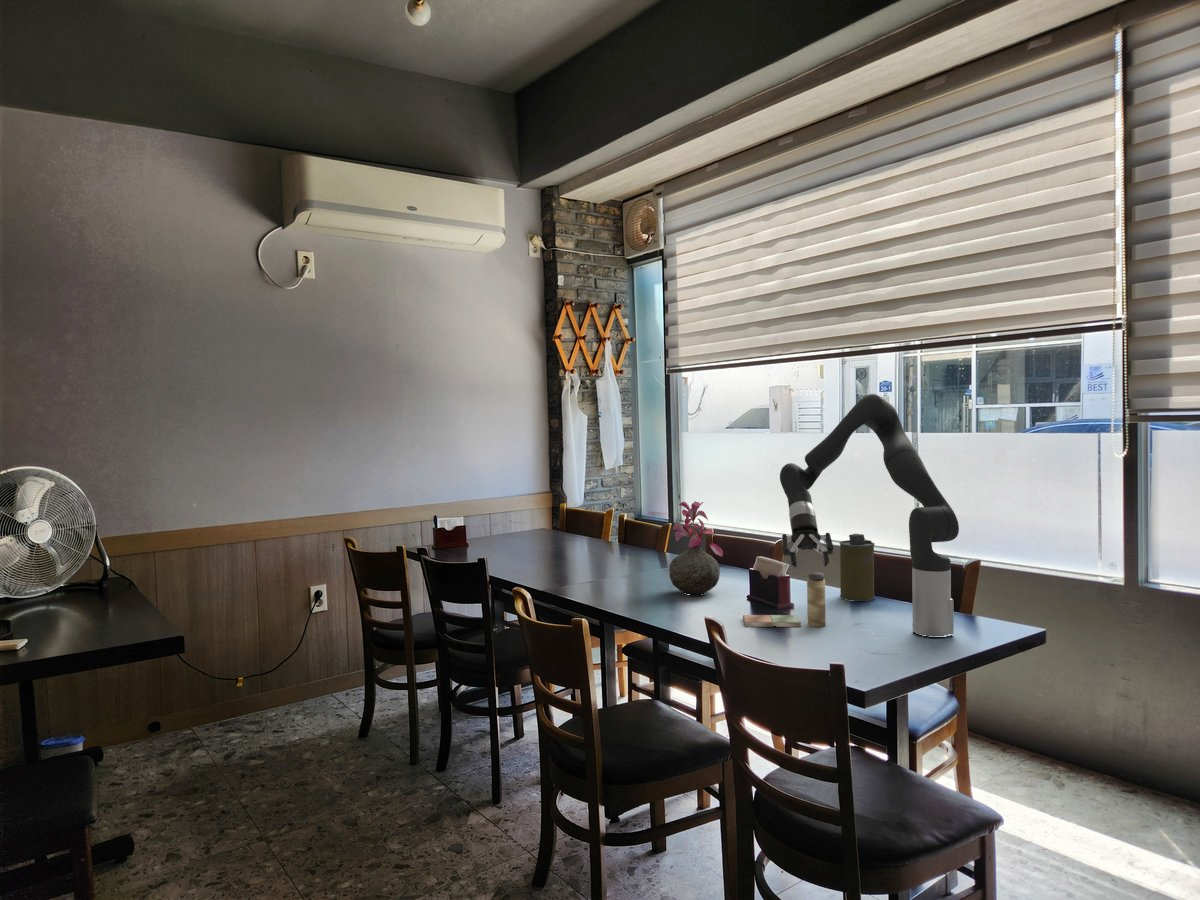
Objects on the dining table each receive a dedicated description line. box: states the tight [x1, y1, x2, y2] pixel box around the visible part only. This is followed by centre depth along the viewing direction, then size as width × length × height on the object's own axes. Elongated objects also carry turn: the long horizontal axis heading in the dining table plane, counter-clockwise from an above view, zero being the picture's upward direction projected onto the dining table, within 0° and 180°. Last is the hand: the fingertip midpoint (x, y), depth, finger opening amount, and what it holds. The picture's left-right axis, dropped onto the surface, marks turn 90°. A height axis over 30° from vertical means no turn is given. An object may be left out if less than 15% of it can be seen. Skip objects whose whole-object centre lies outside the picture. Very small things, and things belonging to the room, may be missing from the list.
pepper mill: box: [806, 571, 827, 628], centre depth 216 cm, size 5×5×14 cm
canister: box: [839, 533, 875, 602], centre depth 246 cm, size 11×10×20 cm
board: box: [742, 614, 802, 628], centre depth 220 cm, size 15×8×1 cm, turn 84°
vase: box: [668, 501, 724, 595], centre depth 256 cm, size 17×17×30 cm
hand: (810, 565), depth 225 cm, fingers open, 8 cm apart
